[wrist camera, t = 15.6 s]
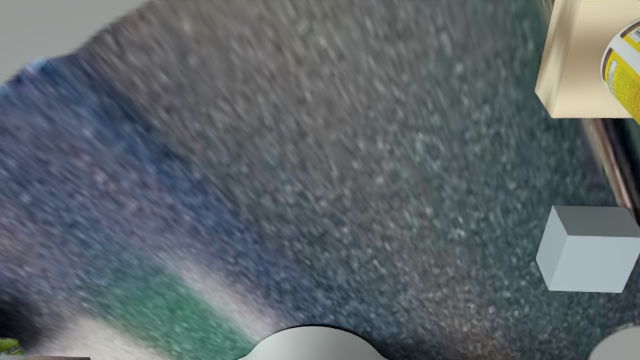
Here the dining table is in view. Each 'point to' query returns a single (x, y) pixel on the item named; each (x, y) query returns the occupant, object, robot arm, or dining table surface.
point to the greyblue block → (588, 248)
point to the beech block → (581, 57)
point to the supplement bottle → (624, 68)
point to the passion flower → (10, 347)
